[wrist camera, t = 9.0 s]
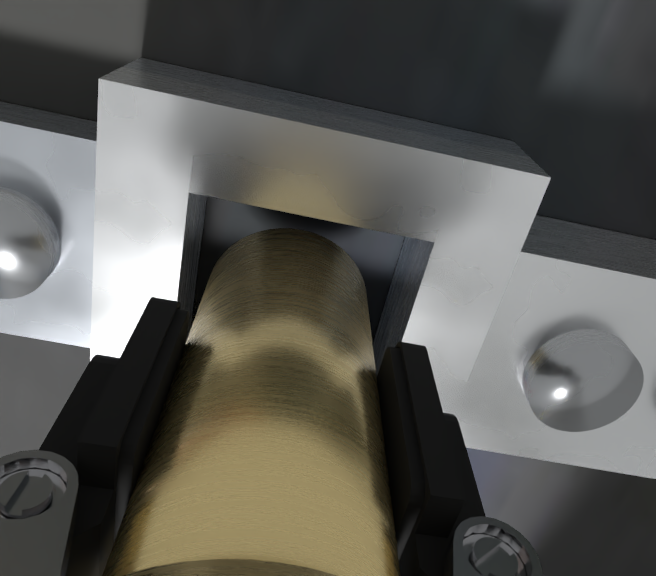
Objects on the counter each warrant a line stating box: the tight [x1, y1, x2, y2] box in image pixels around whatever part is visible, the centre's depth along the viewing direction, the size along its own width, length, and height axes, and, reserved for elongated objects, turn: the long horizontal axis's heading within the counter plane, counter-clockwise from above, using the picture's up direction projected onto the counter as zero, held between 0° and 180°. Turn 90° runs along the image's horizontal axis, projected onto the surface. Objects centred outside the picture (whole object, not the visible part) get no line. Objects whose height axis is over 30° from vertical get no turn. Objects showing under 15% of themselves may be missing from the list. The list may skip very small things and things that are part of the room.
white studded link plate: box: [0, 58, 656, 479], centre depth 16 cm, size 26×10×4 cm, turn 78°
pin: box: [102, 228, 400, 576], centre depth 10 cm, size 5×5×10 cm
